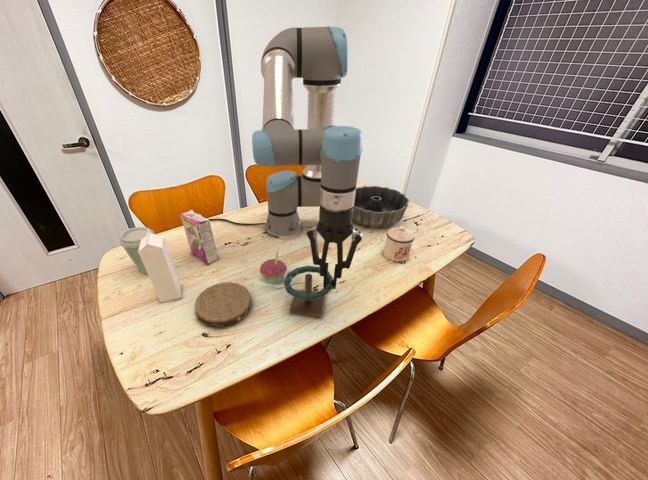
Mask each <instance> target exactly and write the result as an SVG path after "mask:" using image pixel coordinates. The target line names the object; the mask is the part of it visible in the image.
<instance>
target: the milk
mask: <svg viewBox="0 0 648 480" xmlns="http://www.w3.org/2000/svg"><path fill="white" fill-rule="evenodd" d="M149 229H150V228H149ZM149 229H148V231H147V235H146V237H144V238H143V239H142V240H141V242H140V246H139V250H138V253H139V255H140V257H141V260H142V262H143V264H144V266H145V269H146V271H147V273H148V274H147V275H148V278H149V281H150V282H151V285H152V287H153V289H154V291H155V294H156V296H157V298H158V301H159V303H164V302H169V301H175V300H179V299H181V297H182V285H181V282H180V280H179V277H178V273H177V271H176V268H175V266H174V262H173V260H172V256H171V254H170V251H169V248H168V246H167V243H166V240H165V238H164V236H162V235H159V234H156V233H155V234H152V233H150V231H149Z"/></svg>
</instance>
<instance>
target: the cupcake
mask: <svg viewBox="0 0 648 480" xmlns="http://www.w3.org/2000/svg"><path fill="white" fill-rule="evenodd" d="M278 257H279V251H276V253H275V258H271V259H268V260H265V261H264V262H262V263H261V266H260V269H259V274H260V275H261V276H262V277H263V278H265V279H266V281H267V282H268V283H269V284H270V285H273V284H277V283H279V282H281V281H282V279H283V277H284V276H286V273H287V270H288V267H287V265H286V264H285V262H283V261H282V260H280V259H278Z"/></svg>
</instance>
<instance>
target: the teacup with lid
mask: <svg viewBox="0 0 648 480" xmlns="http://www.w3.org/2000/svg"><path fill="white" fill-rule="evenodd" d="M415 240H416V235H415V234H414V232H413V231H411V230H410V229H407V228H406V227H405V226H403V225H401V226H398V227H392V228H389V230H387V231H386V239H385V243H384V246H383V247H384V248H383V255H384V256H385V257H386V258H387V259H390V260H392V261H393V262H395V263H401V262H405V261H406V260H408V258H409V255H410V252H411V248H412V245H413V243H414V241H415Z"/></svg>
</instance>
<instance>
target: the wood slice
mask: <svg viewBox="0 0 648 480" xmlns="http://www.w3.org/2000/svg"><path fill="white" fill-rule="evenodd" d="M194 310H195V313H196V316H197V319H198V320H199V322H200V323H201V324H202V325H204V326H206V327H207V328H212V329H227V328H230V327H234V326H236V325H237V324H239V323H241V322H243V321H244V319H246V318H247V317H248V316H249V314H250V312H251V310H252V297H251V294H250V291H249V290H248V288H246V286H244V285H243V284H240V283H238V282H232V281H229V282H228V281H227V282H226V281H225V282H224V281H223V282H218V283H216V284H213V285H210V286H209V287H206V288H205V289H204V290H203V291H201V292H200V293H199V295H198V296H197V297H196V299H195V302H194Z"/></svg>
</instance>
